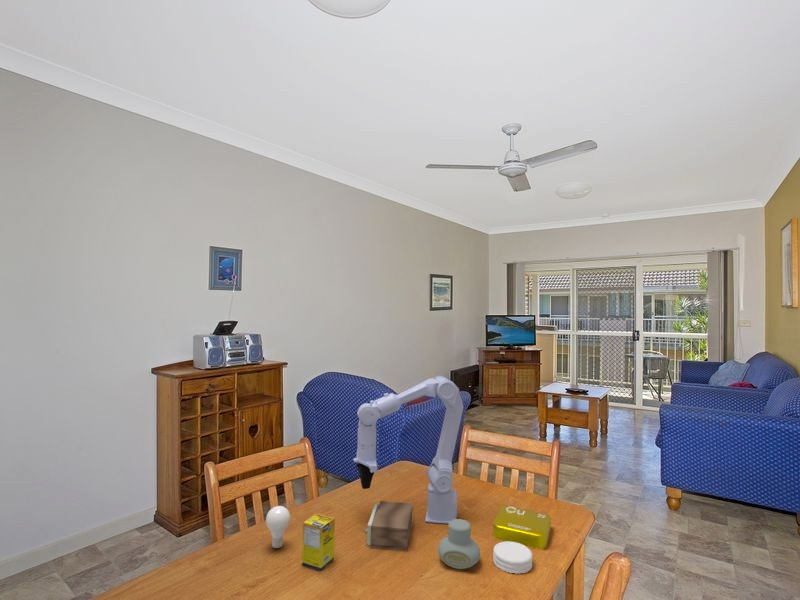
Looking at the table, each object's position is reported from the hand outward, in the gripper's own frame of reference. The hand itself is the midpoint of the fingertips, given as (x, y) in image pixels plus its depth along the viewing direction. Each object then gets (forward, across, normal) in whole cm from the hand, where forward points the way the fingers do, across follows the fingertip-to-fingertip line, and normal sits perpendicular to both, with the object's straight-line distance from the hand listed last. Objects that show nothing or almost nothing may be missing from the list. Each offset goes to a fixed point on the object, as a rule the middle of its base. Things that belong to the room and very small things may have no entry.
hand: (365, 487), depth 137 cm
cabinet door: (+10, +7, 0) cm, 12 cm away
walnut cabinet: (+10, +10, +5) cm, 15 cm away
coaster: (+11, +34, +29) cm, 46 cm away
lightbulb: (+10, +6, -27) cm, 30 cm away
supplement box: (+10, +17, -18) cm, 27 cm away
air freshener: (+11, +29, +16) cm, 35 cm away
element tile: (+11, +22, +42) cm, 49 cm away
